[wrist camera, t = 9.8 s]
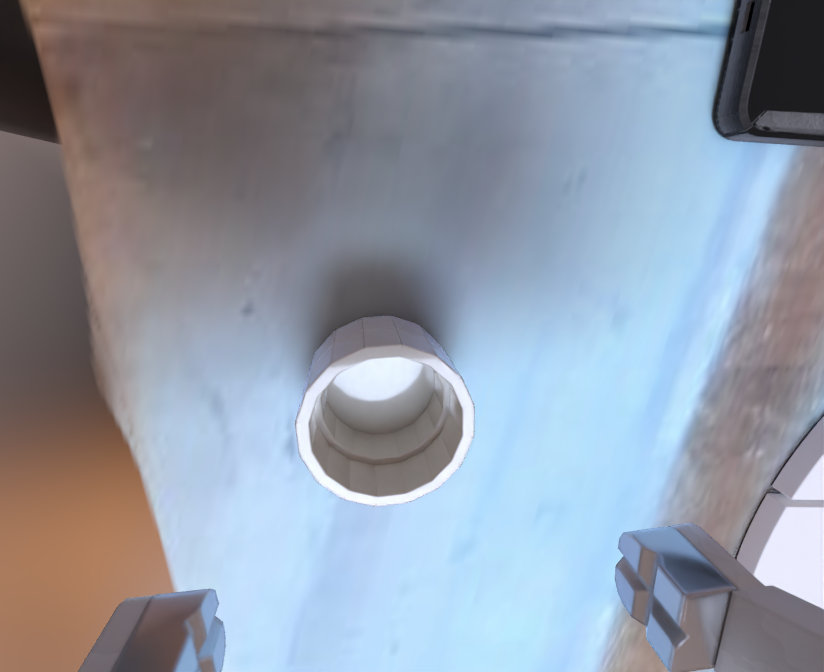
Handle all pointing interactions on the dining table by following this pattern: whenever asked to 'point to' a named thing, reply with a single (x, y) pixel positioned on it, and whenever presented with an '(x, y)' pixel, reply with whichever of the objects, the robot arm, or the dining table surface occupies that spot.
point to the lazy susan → (792, 526)
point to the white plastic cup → (383, 413)
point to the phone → (774, 74)
